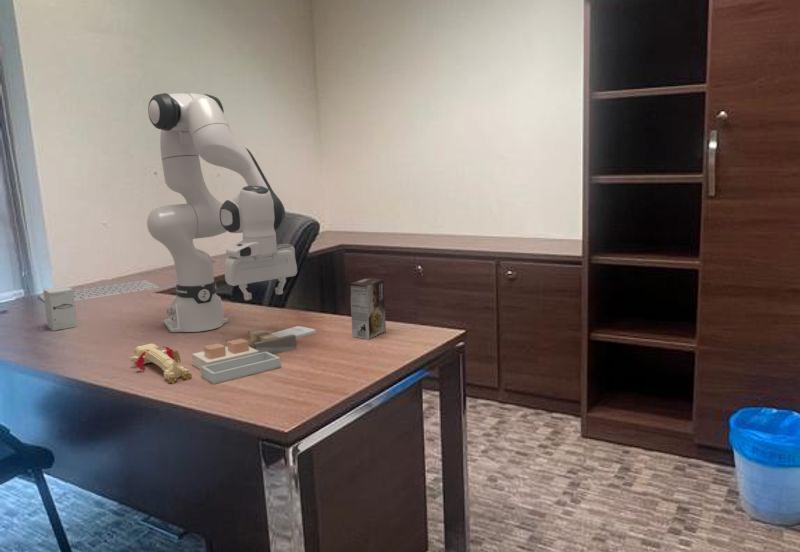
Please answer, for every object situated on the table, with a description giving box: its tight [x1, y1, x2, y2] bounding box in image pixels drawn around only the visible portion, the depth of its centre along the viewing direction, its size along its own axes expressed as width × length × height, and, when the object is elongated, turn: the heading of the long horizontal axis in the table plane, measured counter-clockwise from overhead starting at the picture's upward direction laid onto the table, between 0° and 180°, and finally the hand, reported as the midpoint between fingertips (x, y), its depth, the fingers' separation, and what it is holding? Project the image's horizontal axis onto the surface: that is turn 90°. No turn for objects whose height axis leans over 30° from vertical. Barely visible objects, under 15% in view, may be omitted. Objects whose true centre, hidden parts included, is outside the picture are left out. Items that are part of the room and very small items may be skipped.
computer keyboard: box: [37, 279, 161, 303], centre depth 277 cm, size 43×19×2 cm, turn 128°
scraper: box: [247, 329, 297, 355], centre depth 191 cm, size 14×12×4 cm
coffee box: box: [349, 277, 387, 340], centre depth 200 cm, size 9×6×16 cm
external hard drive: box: [270, 325, 317, 340], centre depth 203 cm, size 2×8×12 cm
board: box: [191, 345, 259, 370], centre depth 178 cm, size 10×14×3 cm
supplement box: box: [42, 286, 78, 332], centre depth 222 cm, size 7×7×13 cm
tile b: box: [226, 338, 250, 354], centre depth 179 cm, size 4×4×2 cm
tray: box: [200, 351, 282, 385], centre depth 171 cm, size 8×18×2 cm, turn 128°
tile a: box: [203, 343, 226, 359], centre depth 175 cm, size 4×4×2 cm
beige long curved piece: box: [129, 343, 193, 384], centre depth 174 cm, size 10×9×25 cm
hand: (263, 296), depth 187 cm, fingers open, 8 cm apart
